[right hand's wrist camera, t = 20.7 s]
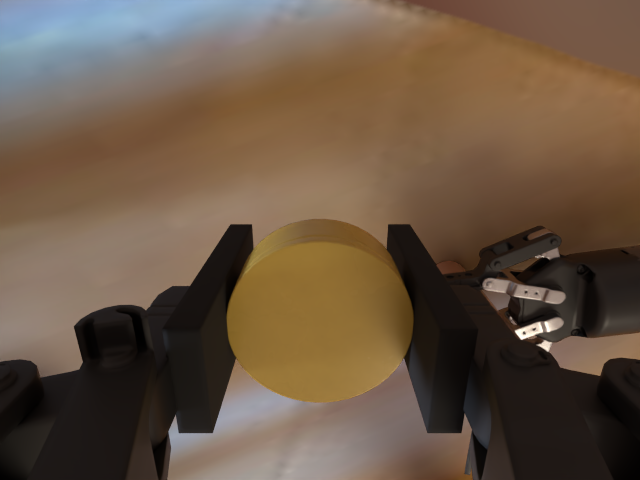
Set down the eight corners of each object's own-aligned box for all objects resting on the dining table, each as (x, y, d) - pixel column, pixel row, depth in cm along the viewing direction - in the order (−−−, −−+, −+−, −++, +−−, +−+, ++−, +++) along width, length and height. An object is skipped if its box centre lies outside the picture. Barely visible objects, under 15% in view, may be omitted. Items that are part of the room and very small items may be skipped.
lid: (248, 203, 11) (236, 224, 9) (419, 233, 11) (437, 259, 10) (231, 349, 13) (217, 389, 11) (380, 372, 13) (388, 414, 11)
